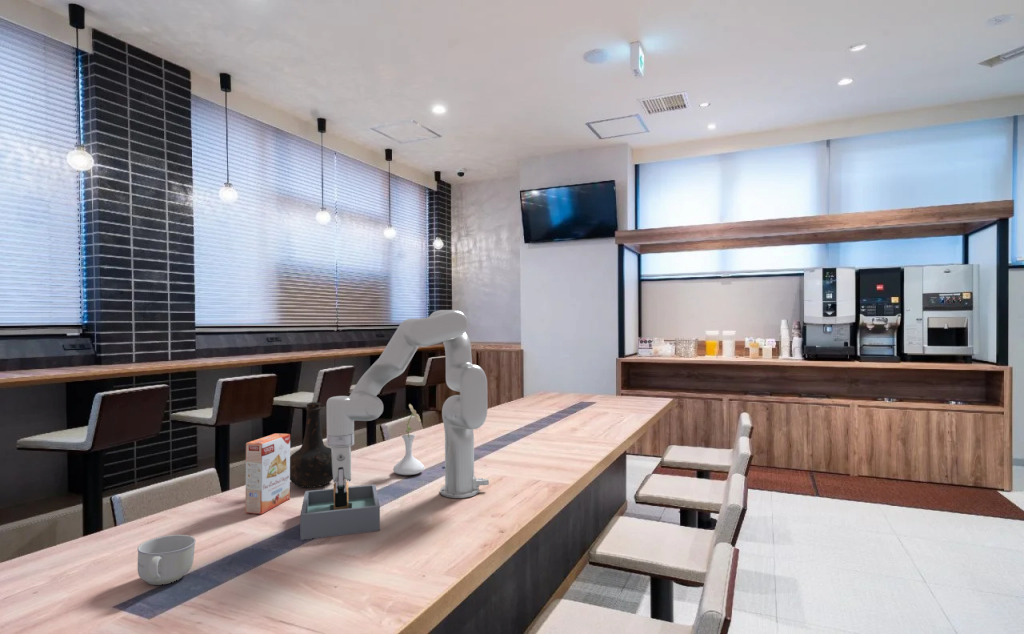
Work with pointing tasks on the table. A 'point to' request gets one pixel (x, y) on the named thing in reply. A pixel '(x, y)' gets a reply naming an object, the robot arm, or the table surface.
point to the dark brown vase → (312, 454)
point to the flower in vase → (409, 453)
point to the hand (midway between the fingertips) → (341, 502)
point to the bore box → (339, 513)
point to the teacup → (165, 558)
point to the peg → (334, 497)
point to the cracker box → (267, 473)
